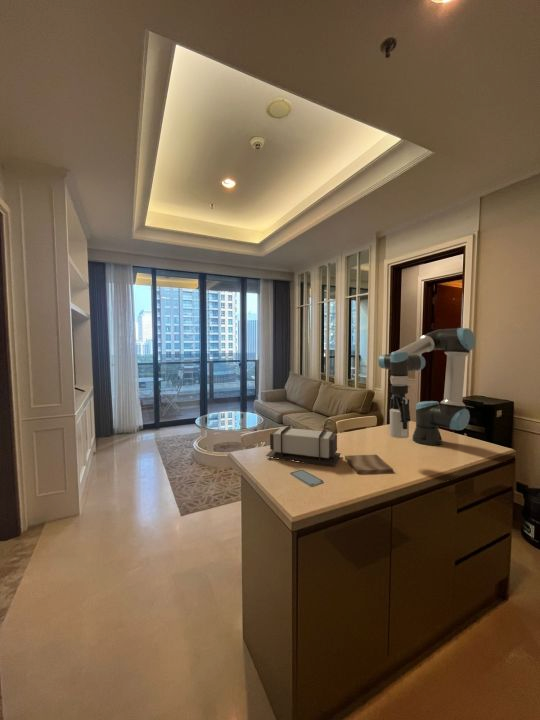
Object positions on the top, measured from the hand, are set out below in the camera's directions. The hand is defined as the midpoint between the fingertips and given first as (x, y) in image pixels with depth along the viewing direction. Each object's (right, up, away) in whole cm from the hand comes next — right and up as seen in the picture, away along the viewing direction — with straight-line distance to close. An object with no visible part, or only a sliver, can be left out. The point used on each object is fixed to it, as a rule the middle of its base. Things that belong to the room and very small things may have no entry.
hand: (399, 432), depth 143 cm
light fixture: (-44, -15, +10) cm, 48 cm away
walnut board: (-15, -15, 0) cm, 21 cm away
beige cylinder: (0, -2, 0) cm, 2 cm away
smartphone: (-45, -17, -13) cm, 50 cm away
